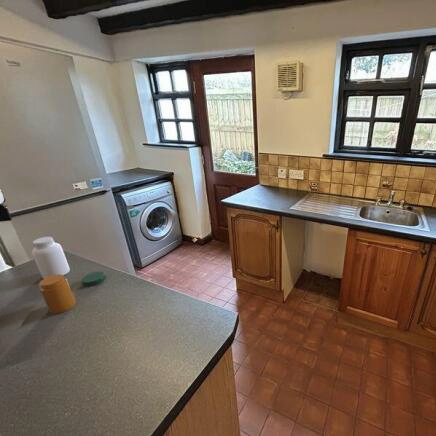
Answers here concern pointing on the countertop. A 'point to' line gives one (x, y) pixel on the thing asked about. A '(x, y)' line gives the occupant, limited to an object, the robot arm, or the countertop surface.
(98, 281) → the jar lid
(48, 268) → the pill bottle
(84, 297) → the countertop surface
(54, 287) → the honey jar
